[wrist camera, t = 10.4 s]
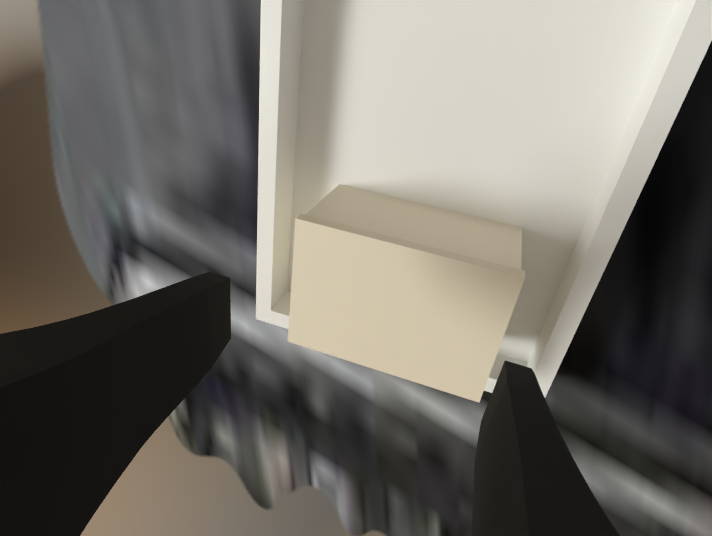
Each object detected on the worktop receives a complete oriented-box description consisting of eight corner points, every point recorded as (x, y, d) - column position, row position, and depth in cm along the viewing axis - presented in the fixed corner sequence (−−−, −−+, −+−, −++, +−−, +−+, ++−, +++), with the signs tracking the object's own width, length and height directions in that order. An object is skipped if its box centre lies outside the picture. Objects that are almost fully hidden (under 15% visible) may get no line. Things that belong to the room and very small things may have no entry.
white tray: (740, -87, 13) (781, -107, 11) (538, 371, 22) (540, 407, 20) (297, -127, 16) (263, -149, 14) (278, 294, 25) (255, 318, 23)
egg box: (524, 225, 19) (525, 277, 15) (487, 336, 22) (479, 402, 18) (337, 181, 20) (295, 218, 17) (325, 289, 23) (287, 341, 20)
